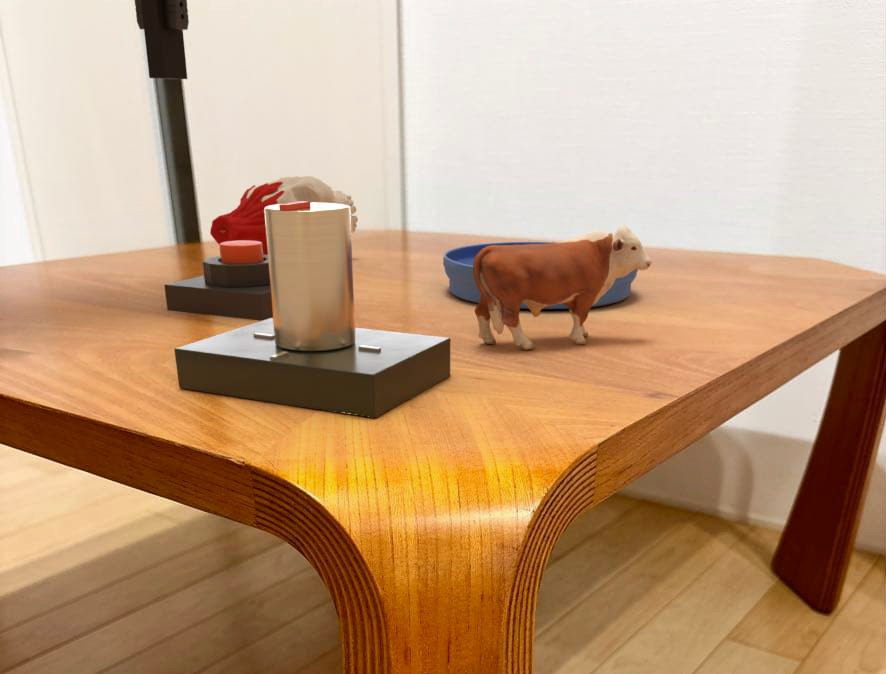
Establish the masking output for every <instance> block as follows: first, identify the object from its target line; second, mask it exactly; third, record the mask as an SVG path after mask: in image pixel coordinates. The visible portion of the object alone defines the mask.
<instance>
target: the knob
mask: <svg viewBox="0 0 886 674" xmlns="http://www.w3.org/2000/svg"><path fill="white" fill-rule="evenodd" d="M264 211H265V223H266V236H267V249H268V261H269V274H270V287H271V300H272V312H273V325H274V338H275V344H276V345H277V346H278V347H280V348H283V349H287V350H293V351H329V350H336V349H341V348H345V347H348V346H350V345H352V344H354V343H355V340H356V339H355V328H356V319H355V318H356V317H355V294H354V293H355V291H354V272H353V271H354V269H353V267H354V266H353V243H352V242H353V241H352V234H351V215H352V214H351V215H350V206H348V205H344V204H335V203H310V201H300V202H293V203H287V204H276V205H270V206H267V207H265V209H264Z"/></svg>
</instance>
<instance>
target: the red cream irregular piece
mask: <svg viewBox="0 0 886 674" xmlns="http://www.w3.org/2000/svg"><path fill="white" fill-rule="evenodd" d="M300 201H310V203H335V204H344V205H348V206H350V215H351V235H352V234H353V233H354V232H355V231H356V228H357V227H358V225H357V223H358V221H359V219H358V216H357V215H354V214H356V213H357V207H356V206H355V205H354V204H355V203H354V202H355V201H354V200H353V199H352V196H351V195H349V194H345V193H344V192H343V191H342V190H333V189H332V187H331V186H329V185H328V184H327V183H325V182H324V181H322V180H321V179H319V178H318V177H314V176H311V175H306V176H304V175H303V176H298V175H297V176H296V175H295V176H284V177H280V178H278V179H276V180H272V181H269V182H265V183H264V184H260V185H255V184H254V185H252V186H251V187H250V188H247V189H246V190H245V191H244V192H243V194H242V196H241V198H240V201H239V204H238V206H237V207H236V208H234V209H233V210H232V211H231V212H228V213H225V214H221V215H218V216H217V217H216V218H214V219H212V221H211V227H210V233H209V234H210V236H211V237H212V238H213V239H214V241H215V242H216V243H217V244H218V245H219V244H220V243H222V242H227V241H238V240H251V241H259V242H262V246H263V255H268V249H267V236H266V223H265V211H264V209H265V207H267V206H270V205H276V204H287V203H293V202H300Z"/></svg>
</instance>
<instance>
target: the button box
mask: <svg viewBox="0 0 886 674" xmlns="http://www.w3.org/2000/svg"><path fill="white" fill-rule="evenodd" d="M263 259H264V261H261V262H253V263H223V262H221V256H220V255H215V256H211V257H207V258H205V259H204V260H203V261H202V269H203V270H202V271H203V275H200V276H195V277H192V278H187V279H184V280H178V281H174V282H170V283H166V284H164V285H163V286H164V293H165V301H166V308H167V309H166V311H172V312H182V313H189V314H190V313H191V314H197V315H199V314H200V315H207V316H208V315H209V316H216V317H226V318H233V319H234V318H235V319H242V320H243V319H244V320H251V321H252V320H253V321H263V320H266V319H269V318H273V312H272V300H271V287H270V274H269V261H268V255H263Z"/></svg>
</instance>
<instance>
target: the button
mask: <svg viewBox="0 0 886 674" xmlns="http://www.w3.org/2000/svg"><path fill="white" fill-rule="evenodd" d="M218 246H219V256H221V262H223V263H253V262H261V261H264V259H263V246H262V242H259V241H251V240H238V241H227V242H222V243H220V244H218Z"/></svg>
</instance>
